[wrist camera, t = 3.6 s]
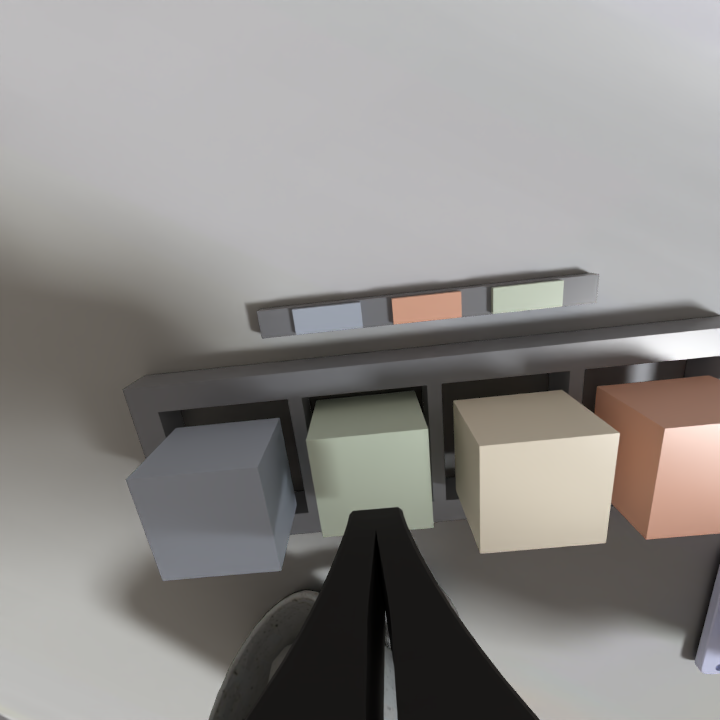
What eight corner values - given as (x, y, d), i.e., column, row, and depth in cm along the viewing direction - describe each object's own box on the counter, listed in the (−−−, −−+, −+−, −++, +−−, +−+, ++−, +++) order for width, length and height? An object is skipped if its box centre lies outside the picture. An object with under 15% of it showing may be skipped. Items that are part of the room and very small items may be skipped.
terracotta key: (709, 375, 13) (810, 415, 10) (689, 469, 14) (774, 528, 11) (597, 386, 13) (665, 428, 10) (587, 478, 14) (645, 539, 11)
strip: (590, 272, 13) (602, 274, 12) (588, 300, 13) (600, 303, 13) (260, 308, 14) (255, 312, 13) (265, 335, 14) (260, 339, 13)
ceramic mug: (342, 711, 21) (335, 967, 13) (228, 638, 19) (149, 889, 12) (488, 611, 19) (576, 850, 11) (377, 518, 17) (395, 732, 9)
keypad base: (721, 315, 14) (761, 323, 12) (689, 475, 16) (719, 496, 14) (144, 375, 14) (122, 389, 13) (189, 520, 17) (174, 544, 15)
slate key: (279, 417, 13) (257, 467, 10) (296, 504, 14) (281, 571, 11) (176, 428, 13) (125, 480, 10) (201, 513, 14) (162, 581, 12)
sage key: (414, 390, 14) (428, 428, 11) (419, 473, 15) (433, 527, 12) (316, 400, 14) (306, 440, 11) (329, 482, 15) (322, 537, 13)
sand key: (561, 389, 13) (620, 433, 10) (555, 481, 14) (606, 543, 11) (452, 400, 13) (479, 446, 10) (455, 490, 14) (480, 553, 11)
